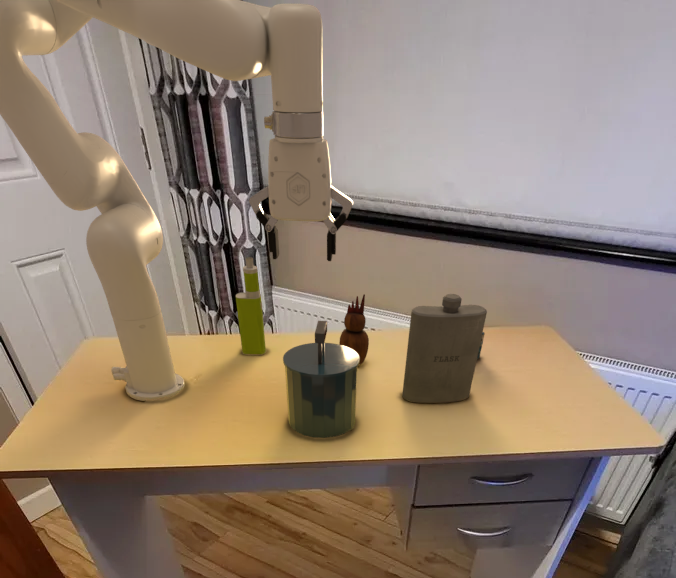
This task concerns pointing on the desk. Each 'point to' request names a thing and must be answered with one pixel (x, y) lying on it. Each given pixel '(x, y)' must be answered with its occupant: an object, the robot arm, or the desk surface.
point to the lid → (321, 357)
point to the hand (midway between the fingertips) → (302, 258)
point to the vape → (251, 313)
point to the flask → (442, 351)
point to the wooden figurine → (355, 330)
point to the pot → (321, 404)
